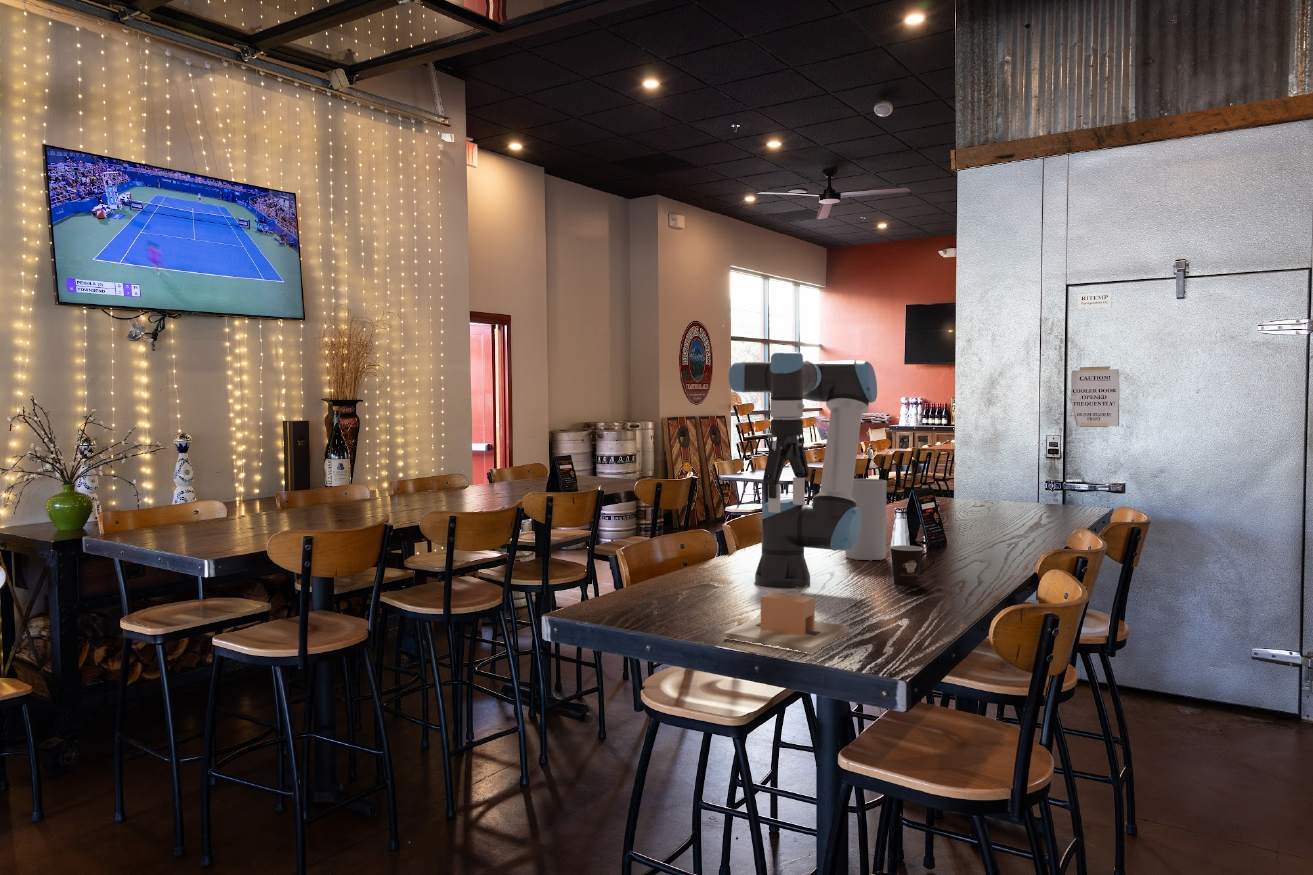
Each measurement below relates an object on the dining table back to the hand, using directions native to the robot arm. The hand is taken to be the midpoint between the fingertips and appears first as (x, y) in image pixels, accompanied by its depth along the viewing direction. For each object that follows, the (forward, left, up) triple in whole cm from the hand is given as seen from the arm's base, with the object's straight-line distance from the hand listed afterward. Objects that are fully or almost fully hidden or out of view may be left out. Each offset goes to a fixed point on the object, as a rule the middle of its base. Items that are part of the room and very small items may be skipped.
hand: (786, 508), depth 208 cm
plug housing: (+9, -18, -24) cm, 31 cm away
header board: (+9, -18, -25) cm, 32 cm away
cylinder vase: (-11, +81, -25) cm, 86 cm away
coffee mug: (+14, +50, -25) cm, 58 cm away
